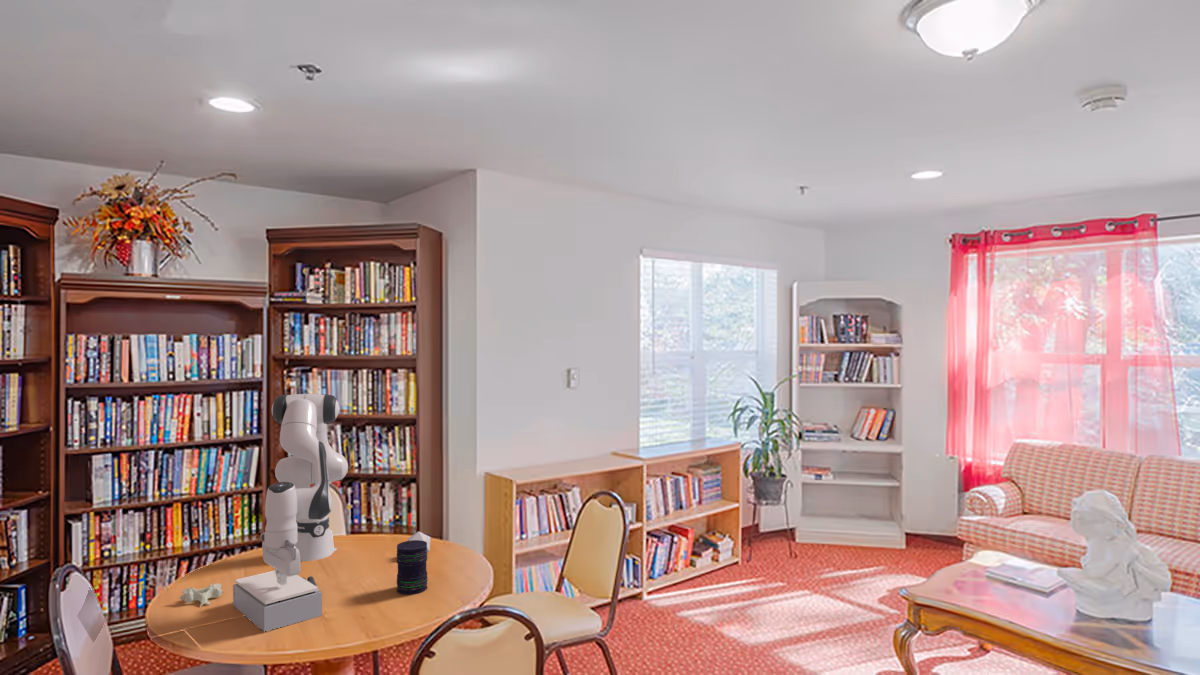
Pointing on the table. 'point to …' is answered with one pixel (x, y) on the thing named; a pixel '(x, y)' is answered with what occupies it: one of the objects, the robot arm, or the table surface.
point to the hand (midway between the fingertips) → (281, 583)
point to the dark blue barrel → (412, 567)
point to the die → (421, 539)
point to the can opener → (311, 580)
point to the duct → (277, 609)
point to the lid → (275, 587)
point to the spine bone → (201, 594)
